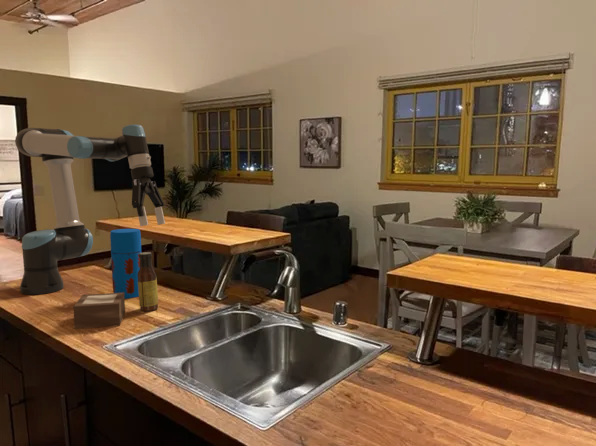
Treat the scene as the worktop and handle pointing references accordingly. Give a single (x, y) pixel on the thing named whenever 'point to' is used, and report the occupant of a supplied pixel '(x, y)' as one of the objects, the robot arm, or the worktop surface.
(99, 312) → the block
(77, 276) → the worktop surface
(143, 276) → the sauce bottle
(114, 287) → the thermos
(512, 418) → the worktop surface
